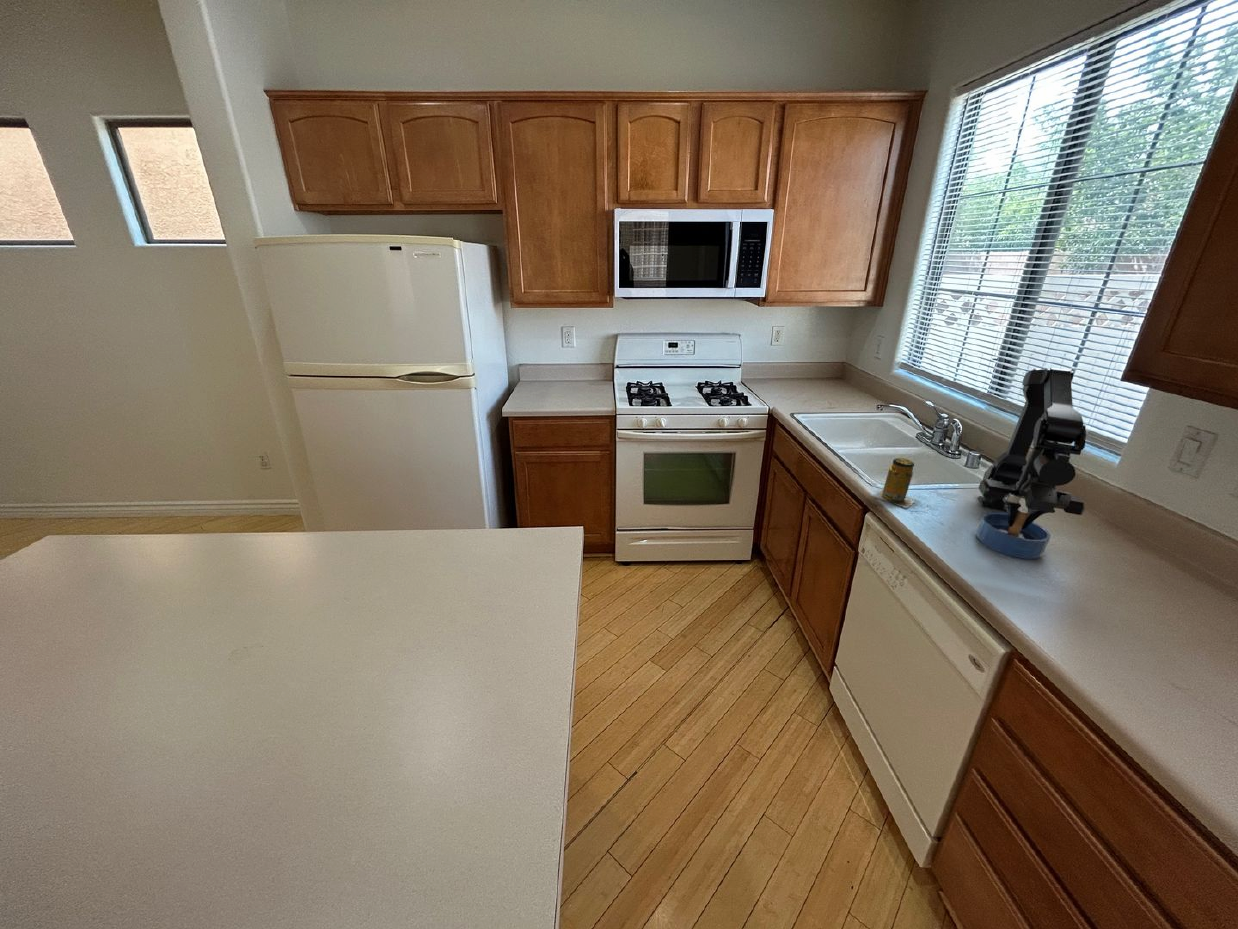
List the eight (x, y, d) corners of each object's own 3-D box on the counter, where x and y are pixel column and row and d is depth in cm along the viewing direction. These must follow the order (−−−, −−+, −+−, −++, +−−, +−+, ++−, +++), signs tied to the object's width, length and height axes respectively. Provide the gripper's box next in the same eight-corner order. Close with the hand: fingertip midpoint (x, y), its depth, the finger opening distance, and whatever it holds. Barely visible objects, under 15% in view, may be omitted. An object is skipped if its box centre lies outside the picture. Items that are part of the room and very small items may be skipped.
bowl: (970, 526, 126) (977, 508, 124) (1031, 538, 122) (1039, 520, 119) (982, 551, 115) (990, 532, 113) (1049, 566, 111) (1058, 546, 108)
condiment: (886, 490, 144) (897, 454, 139) (916, 501, 138) (928, 464, 133) (875, 497, 140) (886, 460, 135) (905, 509, 134) (917, 470, 129)
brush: (994, 539, 119) (1009, 504, 115) (1017, 544, 118) (1033, 509, 113) (997, 547, 116) (1013, 511, 112) (1021, 552, 114) (1038, 516, 110)
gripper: (1001, 473, 105) (977, 533, 111) (1109, 492, 98) (1077, 554, 105) (989, 456, 114) (967, 512, 121) (1087, 472, 107) (1059, 530, 114)
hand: (1015, 527), depth 115 cm, fingers closed on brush, 2 cm apart
